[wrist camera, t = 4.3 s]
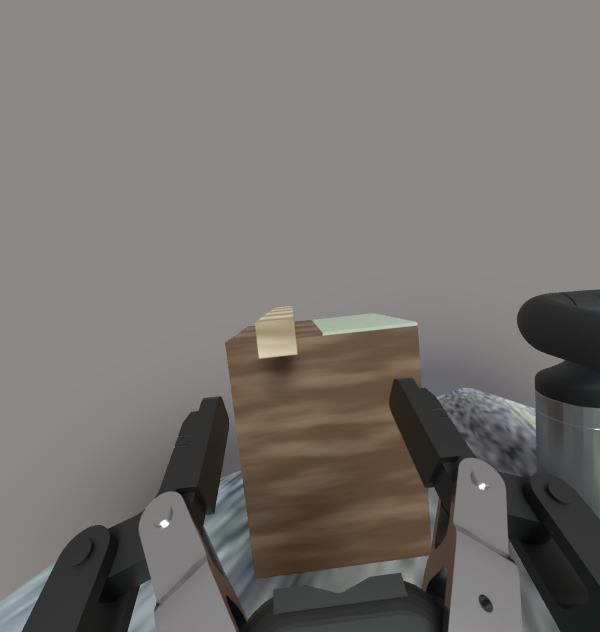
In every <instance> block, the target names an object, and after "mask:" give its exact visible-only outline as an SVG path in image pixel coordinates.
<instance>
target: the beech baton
mask: <svg viewBox="0 0 600 632" xmlns="http://www.w3.org/2000/svg"><path fill="white" fill-rule="evenodd" d="M255 329H256V337H257V346H258V354H259V359H260V358H269V357H278V356H287V355H296V354H297V345H296V335H295V326H294V317H293V310H292V306H287V307H278V308H274V309H273V310H271V311H270V312H268V313H267V314H266V315H264V316H263V317H262V318H261V319H259V320H258V321H256V322H255Z"/></svg>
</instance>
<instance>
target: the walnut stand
mask: <svg viewBox="0 0 600 632" xmlns="http://www.w3.org/2000/svg"><path fill="white" fill-rule="evenodd" d="M294 326H295V335H296V345H297V354H296V355H287V356H278V357H269V358H260V359H259V354H258V346H257V337H256V329H255V326H250V327H247V328H245V329H244V330H243V331H241V332H240V333H238V334H237V335H236V336H234V337H233V338H231V339H230V340H228V341H227V342H226V343H225V345H226V352H227V360H228V368H229V375H230V383H231V391H232V398H233V406H234V414H235V422H236V429H237V438H238V446H239V453H240V461H241V469H242V477H243V484H244V492H245V500H246V508H247V515H248V523H249V531H250V539H251V547H252V554H253V562H254V570H255V578H264V577H271V576H278V575H286V574H293V573H301V572H308V571H316V570H323V569H330V568H338V567H345V566H353V565H360V564H368V563H375V562H383V561H390V560H397V559H405V558H412V557H420V556H427V555H430V552H431V533H430V517H429V501H428V488H425V487H424V485H423V483H422V480H421V478H420V476H419V474H418V472H417V469H416V467H415V465H414V463H413V460H412V458H411V456H410V454H409V451H408V449H407V447H406V445H405V442H404V440H403V438H402V436H401V433H400V431H399V429H398V427H397V424H396V422H395V420H394V418H393V416H392V413H391V411H390V407H389V397H390V393H391V388H392V384H393V380H394V379H397V378H407V377H411V378H413V379H414V381H415V382H416V384H417V385H418V387H419V388H421V373H420V356H419V340H418V324H417V322H413V321H408V320H404V319H399V318H394V317H389V316H384V315H380V314H375V313H374V314H364V315H354V316H345V317H335V318H326V319H316V320H307V321H299V322H294Z"/></svg>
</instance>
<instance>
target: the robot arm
mask: <svg viewBox="0 0 600 632" xmlns="http://www.w3.org/2000/svg"><path fill="white" fill-rule="evenodd" d="M517 324H518V328H519V330H520V332H521V334H522V336H523V337H524V338H525V340H526V341H527V342H528V343H529V344H530V345H531V346H533V347H534V348H536V349H537V350H539V351H541V352H544V353H546V354H549V355H552V356H555V357H558V358H561V359H564V360H565V361H564V362H562V363H560V364H558V365H555V366H552V367H549V368H546V369H543V370H541V371H539V372H538V373H537V374H536V376H535V411H536V456H537V473H535V474H533V475H532V476H531V477H530V478H529V479H528V478H523V477H519V476H514V475H510V474H506V473H501V472H498V471H496V470H495V469H494V468H493V467H492V466H490V465H489V464H487V463H486V462H484V461H482V460H479V459H477V458H476V456H475V455H474V454H473V453H472V451H471V450H470V448H469V447H468V445H467V444H466V442H465V441H464V439H463V438H462V436H461V435H460V433H459V432H458V430H457V429H456V427H455V426H454V424H453V423H452V421H451V420H450V418H448V415H447V413H446V412H445V410H444V409H443V408H442V406H441V404H440V403H439V401H438V400H437V398H436V397H435V396H434V395H433V394H432V393H431V392H429V391H428V390H427V389H426V388H419V387H418V385H417V384H416V382H415V381H414V379H413V378H411V377H407V378H397V379H394V380H393V384H392V388H391V393H390V397H389V407H390V411H391V413H392V416H393V418H394V420H395V422H396V424H397V427H398V429H399V431H400V433H401V436H402V438H403V440H404V442H405V445H406V447H407V449H408V451H409V454H410V456H411V458H412V460H413V463H414V465H415V467H416V469H417V472H418V474H419V476H420V478H421V480H422V483H423V485H424V487H425V488H429V487H434V488H435V490H436V492H437V494H438V496H439V501H438V507H437V514H436V521H435V527H434V534H433V540H432V547H431V552H430V555H429V558H428V561H427V564H426V569H425V573H424V579H423V586H422V589H421V588H419V587H417V586H416V585H413V584H411V583H409V582H406V581H403V578H402V575H401V573H396V574H388V575H381V576H373V577H369V578H367V579H366V580H364V581H362V582H360V583H359V584H357V585H355V586H353V587H352V588H350V589H348V590H346V591H345V592H343V593H339V594H338V593H333V592H329V591H326V590H322V589H318V588H314V587H310V586H306V585H304V586H297V587H289V588H282V589H274V597H273V598H271V599H269V600H268V601H266V602H265V603H264V604H263V605H261V606H260V607H259V608H258V609H257V610H256V611H255V612H254V613H253V614H252V616H251V617H250V618H249V619H248V620H247V618H246V616H245V613H244V611H243V609H242V607H241V605H240V602H239V600H238V598H237V596H236V594H235V592H234V590H233V588H232V586H231V584H230V582H229V581H228V579H227V577H226V575H225V573H224V570H223V568H222V566H221V564H220V561H219V559H218V557H217V555H216V553H215V550H214V548H213V546H212V544H211V541H210V539H209V537H208V535H207V533H206V530H205V528H204V526H203V525H204V519H205V515H209V514H214V512H215V506H216V501H217V495H218V489H219V483H220V476H221V471H222V466H223V460H224V453H225V448H226V442H227V436H228V430H229V418H228V414H227V411H226V409H225V405H224V402H223V400H222V398H221V397H209V398H203V400H202V402H201V405H200V408H199V411H196V412H191V413H190V414H189V416H188V417H187V418H186V419H185V421H184V422H183V424H182V427H181V430H180V433H179V437H178V438H177V441H176V444H175V448H174V450H173V453H172V455H171V459H170V462H169V464H168V467H167V470H166V473H165V476H164V479H163V481H162V484H161V487H160V490H159V492H158V494H157V496H156V497H155V499H154V500H153V501H152V502H151V503H150V504H149V505H148V506H147V507H146V509H144V511H142V512H141V513H139V514H138V515H136V516H134V517H132V518H130V519H128V520H126V521H124V522H122V523H119V524H117V525H115V526H113V527H111V528H109V529H107V528H106V527H104V526H102V525H95V526H92V527H89V528H87V529H85V530H83V531H82V532H81V533H79V534H78V535H76V536H75V537H74V538H73V539H72V540H71V541H70V542H69V543H68V544H67V546H66V547H65V548H64V550H63V551H62V553H61V554H60V556H59V558H58V560H57V562H56V564H55V566H54V568H53V570H52V572H51V574H50V576H49V578H48V580H47V582H46V584H45V586H44V588H43V590H42V592H41V594H40V596H39V598H38V600H37V602H36V604H35V606H34V608H33V610H32V612H31V614H30V616H29V618H28V620H27V622H26V624H25V626H24V628H23V630H22V632H127V631H128V628H129V624H130V620H131V617H132V613H133V609H134V606H135V602H136V598H137V595H138V591H139V587H140V585H141V584H143V583H144V582H146V581H148V580H150V579H151V580H152V584H153V588H154V592H155V596H156V607H155V610H154V617H155V624H156V628H157V632H523V629H522V612H521V596H520V580H519V572H518V568H517V565H516V563H515V562H514V560H512V559H511V558H510V555H509V550H508V538H509V540H510V542H511V543H512V545H513V547H514V549H515V550H516V552H517V554H518V556H519V558H520V559H521V561H522V563H523V565H524V567H525V568H526V570H527V572H528V574H529V576H530V577H531V579H532V581H533V583H534V585H535V586H536V588H537V590H538V592H539V593H540V595H541V597H542V599H543V601H544V602H545V604H546V606H547V608H548V610H549V611H550V613H551V615H552V617H553V619H554V620H555V622H556V624H557V626H558V628H559V629H560V631H561V632H600V290H585V291H573V292H561V293H549V294H544V295H539V296H536V297H533V298H531V299H529V300H528V301H526V302H525V303H524V304H523V305H522V307H521V308H520V310H519V312H518V315H517Z"/></svg>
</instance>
